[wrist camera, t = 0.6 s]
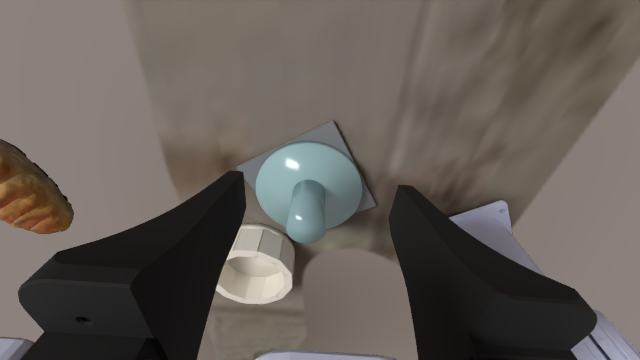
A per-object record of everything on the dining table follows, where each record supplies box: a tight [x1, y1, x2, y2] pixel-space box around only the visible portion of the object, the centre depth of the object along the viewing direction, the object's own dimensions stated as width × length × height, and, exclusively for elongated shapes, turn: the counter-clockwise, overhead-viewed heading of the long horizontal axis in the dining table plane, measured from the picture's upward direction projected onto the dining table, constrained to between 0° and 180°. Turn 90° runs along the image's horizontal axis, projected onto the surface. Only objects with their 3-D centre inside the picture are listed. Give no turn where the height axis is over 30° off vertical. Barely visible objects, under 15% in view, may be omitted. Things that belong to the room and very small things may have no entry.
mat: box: [237, 120, 376, 231], centre depth 24 cm, size 9×9×1 cm
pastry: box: [0, 139, 74, 234], centre depth 23 cm, size 9×7×4 cm
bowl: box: [216, 223, 295, 304], centre depth 27 cm, size 8×8×4 cm
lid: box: [256, 141, 362, 244], centre depth 21 cm, size 9×9×5 cm
